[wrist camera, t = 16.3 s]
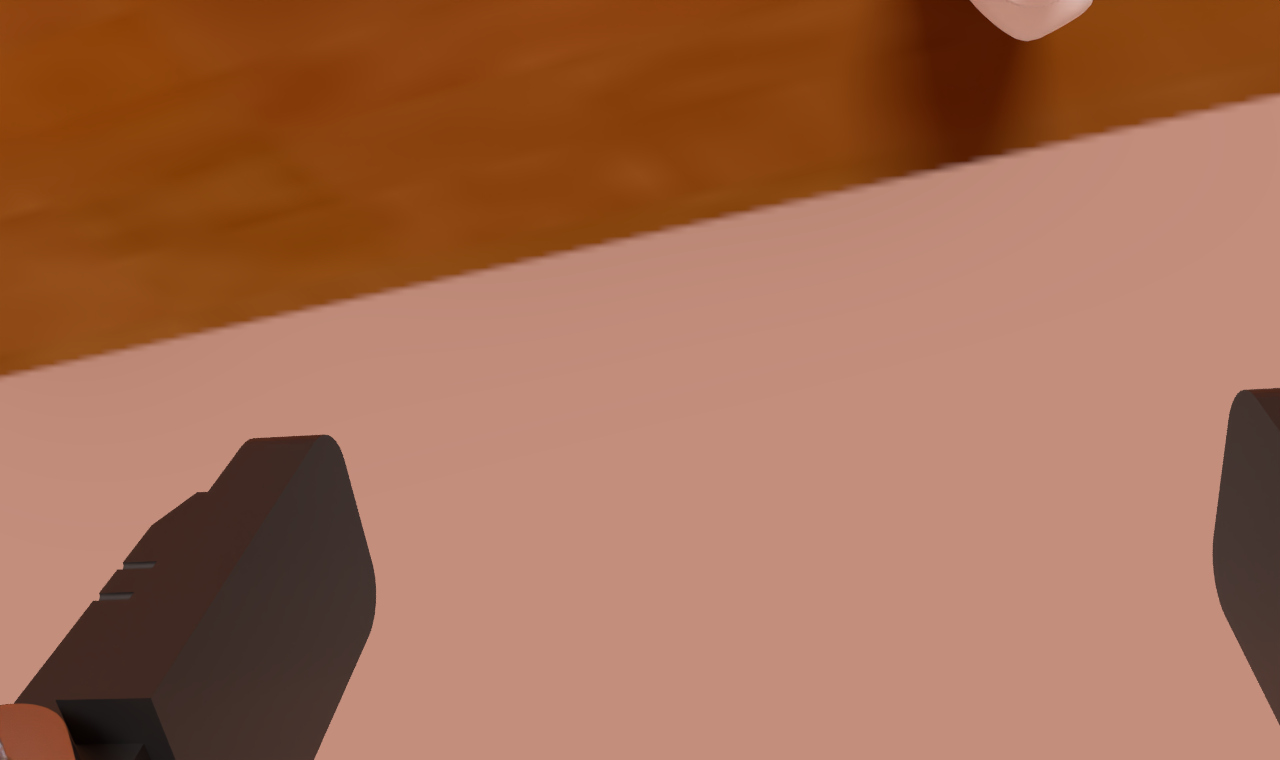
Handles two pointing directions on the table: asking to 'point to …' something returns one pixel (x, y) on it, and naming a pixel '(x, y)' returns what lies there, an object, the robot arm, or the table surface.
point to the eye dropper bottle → (1031, 15)
